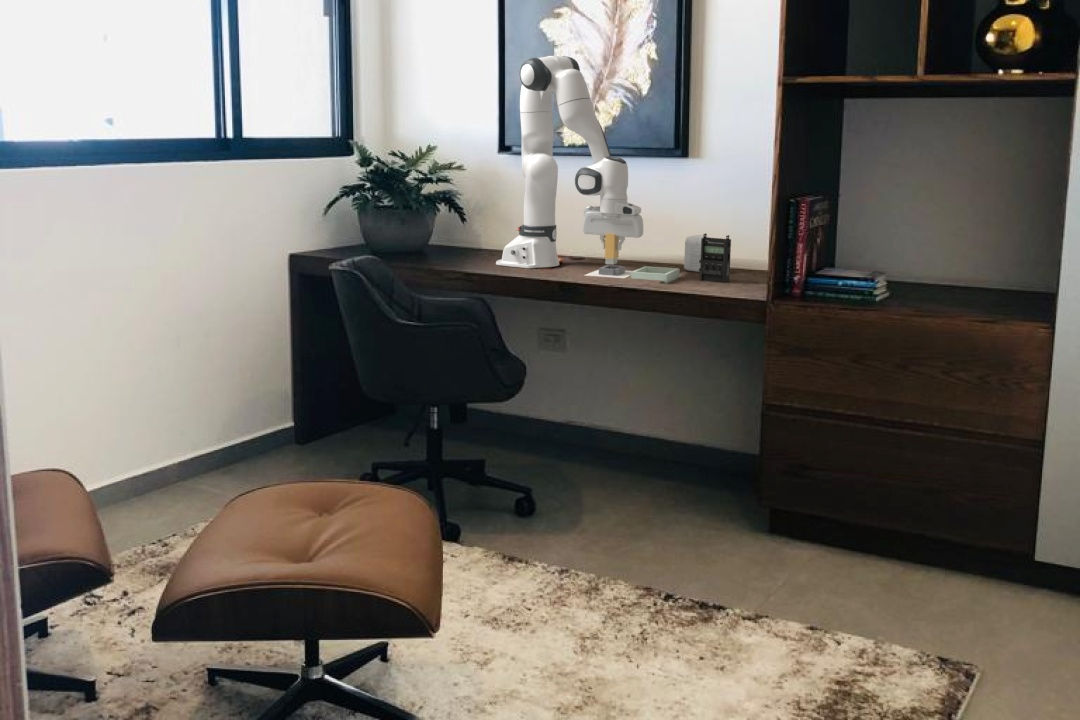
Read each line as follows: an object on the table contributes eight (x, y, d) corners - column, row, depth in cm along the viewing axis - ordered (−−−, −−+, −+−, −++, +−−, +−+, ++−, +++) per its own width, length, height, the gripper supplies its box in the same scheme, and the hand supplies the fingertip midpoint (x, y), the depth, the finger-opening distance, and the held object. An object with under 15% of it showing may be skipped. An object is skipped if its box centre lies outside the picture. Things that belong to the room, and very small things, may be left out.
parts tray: (630, 281, 356) (630, 272, 356) (644, 275, 369) (644, 266, 368) (666, 283, 352) (666, 274, 351) (679, 277, 364) (679, 268, 364)
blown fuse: (604, 264, 364) (605, 233, 362) (609, 262, 368) (610, 232, 366) (613, 264, 363) (614, 234, 360) (618, 262, 367) (619, 232, 365)
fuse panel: (583, 278, 362) (583, 269, 361) (600, 271, 376) (600, 262, 375) (623, 281, 356) (624, 272, 356) (639, 274, 371) (640, 265, 370)
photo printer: (714, 272, 377) (716, 235, 374) (709, 273, 373) (710, 237, 370) (687, 269, 382) (688, 233, 379) (682, 271, 379) (683, 234, 376)
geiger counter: (695, 280, 359) (697, 234, 355) (701, 278, 362) (703, 232, 359) (725, 283, 353) (727, 236, 350) (731, 281, 357) (733, 235, 353)
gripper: (580, 206, 362) (579, 248, 366) (639, 210, 355) (637, 252, 358) (587, 204, 368) (585, 246, 371) (645, 208, 360) (644, 250, 363)
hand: (611, 249), depth 364 cm, fingers closed on blown fuse, 3 cm apart
